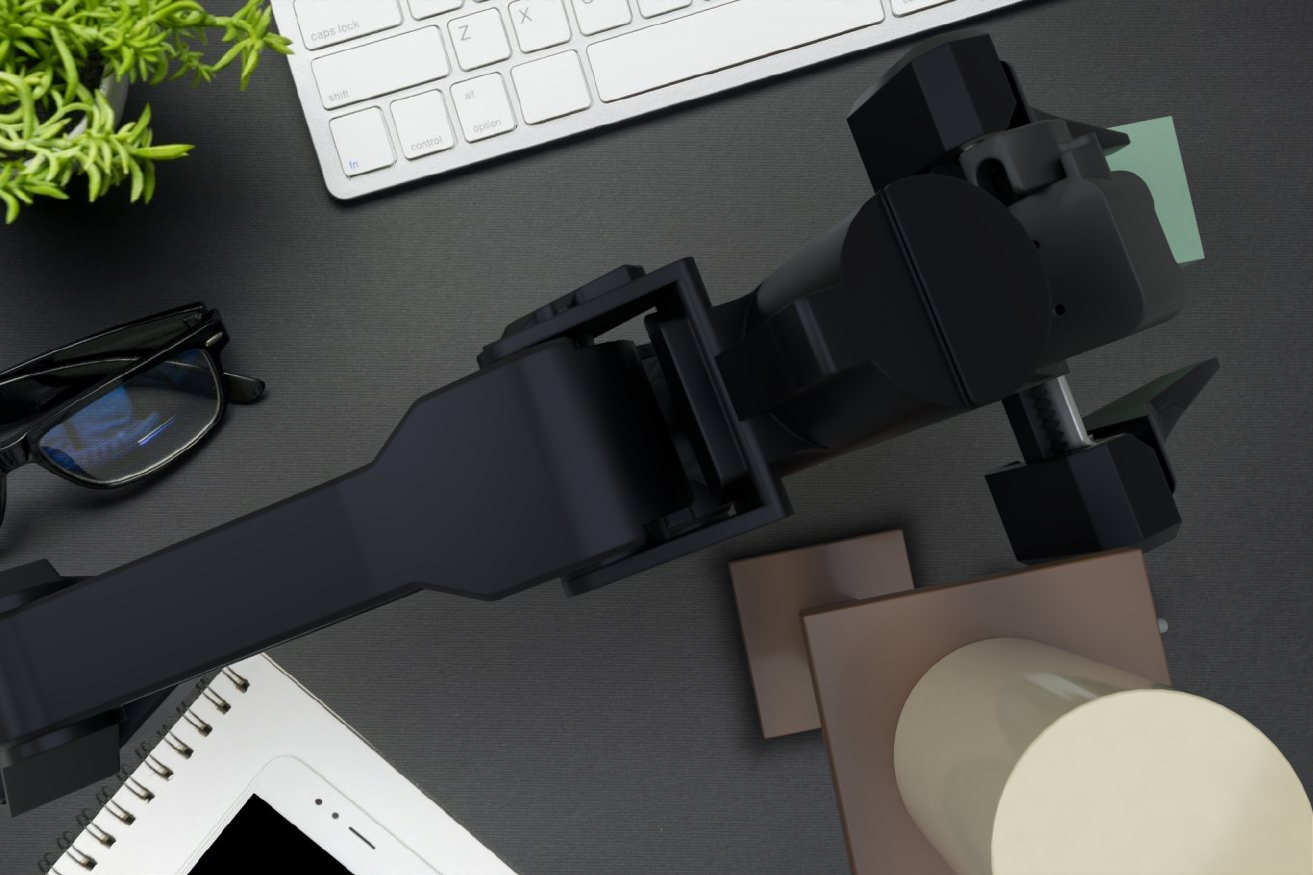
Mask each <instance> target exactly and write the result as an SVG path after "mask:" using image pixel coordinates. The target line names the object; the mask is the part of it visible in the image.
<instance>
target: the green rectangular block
mask: <svg viewBox="0 0 1313 875" xmlns="http://www.w3.org/2000/svg"><path fill="white" fill-rule="evenodd" d="M1105 128H1106V129H1110V130H1114V131H1118V132H1123V133H1126V134H1128V136H1129V139H1130V141H1131V143H1130V144H1129V145H1128V146H1126V147H1124V148H1122V149H1121V150H1119V151H1117V152H1115V153H1113V154H1111V155H1109V156H1106V157H1105V158H1106V160H1107V163H1108V165H1109V168H1110V170H1111V171H1117V170H1124V171H1129V172H1132V173H1135V174H1136V175H1138V176H1139V177H1141V178H1142V179H1143V180H1144V182H1145V183H1146V184H1147V186H1148V188H1149V189H1150V192H1151V194H1152V197H1153V199H1154V203H1155V204H1154V206H1155V211H1156V214H1157V216H1158V219H1159V221H1160V224H1161V226H1162V229H1163V231H1164V234H1165V236H1166V239H1167V241H1168V244H1169V246H1170V249H1171V251H1172V254H1173V256H1174V258H1175V260H1176V262H1177V263H1178V264H1179V265H1180V267H1181V269H1182V270H1183V269H1185V268H1186V267H1188V266H1190V265H1193V264H1196V263H1197V262H1199V261H1201V260H1203V259H1205V258H1206V257H1205V253H1204V249H1203V244H1202V239H1201V235H1200V232H1199V231H1200V230H1199V228H1198V223H1197V218H1196V214H1195V210H1194V205H1193V202H1192V197H1191V193H1190V192H1191V191H1190V189H1189V184H1188V179H1187V175H1186V172H1185V167H1184V164H1183V158H1182V154H1181V150H1180V145H1179V141H1178V137H1177V132H1176V128H1175V125H1174V119H1173V116H1172V115H1169V116H1163V117H1158V118H1153V119H1147V120H1143V121H1142V120H1141V121H1137V122H1131V123H1127V124H1121V125H1117V126H1116V125H1115V126H1112V127H1105Z"/></svg>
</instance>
